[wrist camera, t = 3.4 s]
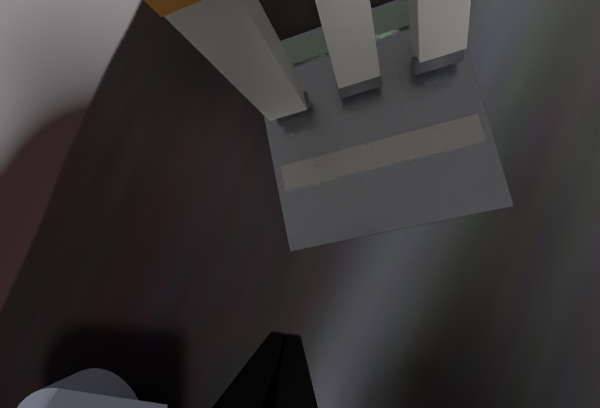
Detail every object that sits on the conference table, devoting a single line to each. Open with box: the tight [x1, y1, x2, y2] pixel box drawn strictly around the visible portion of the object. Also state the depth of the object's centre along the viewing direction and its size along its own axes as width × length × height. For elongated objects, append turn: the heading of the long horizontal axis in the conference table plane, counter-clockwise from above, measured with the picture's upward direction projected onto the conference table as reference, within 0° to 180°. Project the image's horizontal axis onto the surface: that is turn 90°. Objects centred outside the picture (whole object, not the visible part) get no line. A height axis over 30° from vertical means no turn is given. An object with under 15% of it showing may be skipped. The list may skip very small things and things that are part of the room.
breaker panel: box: [264, 0, 514, 251], centre depth 21 cm, size 14×13×2 cm
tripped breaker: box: [144, 0, 311, 121], centre depth 15 cm, size 2×3×13 cm
